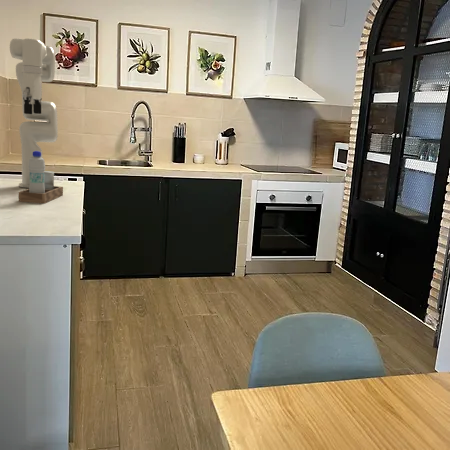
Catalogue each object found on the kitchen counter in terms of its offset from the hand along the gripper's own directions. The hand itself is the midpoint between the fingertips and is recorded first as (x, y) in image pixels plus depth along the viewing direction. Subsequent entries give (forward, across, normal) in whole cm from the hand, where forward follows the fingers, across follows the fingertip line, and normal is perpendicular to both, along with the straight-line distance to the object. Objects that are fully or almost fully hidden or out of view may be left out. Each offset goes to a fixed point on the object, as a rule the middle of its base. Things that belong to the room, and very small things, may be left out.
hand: (32, 113), depth 210 cm
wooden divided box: (+36, -3, +2) cm, 36 cm away
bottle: (+35, +2, +2) cm, 35 cm away
